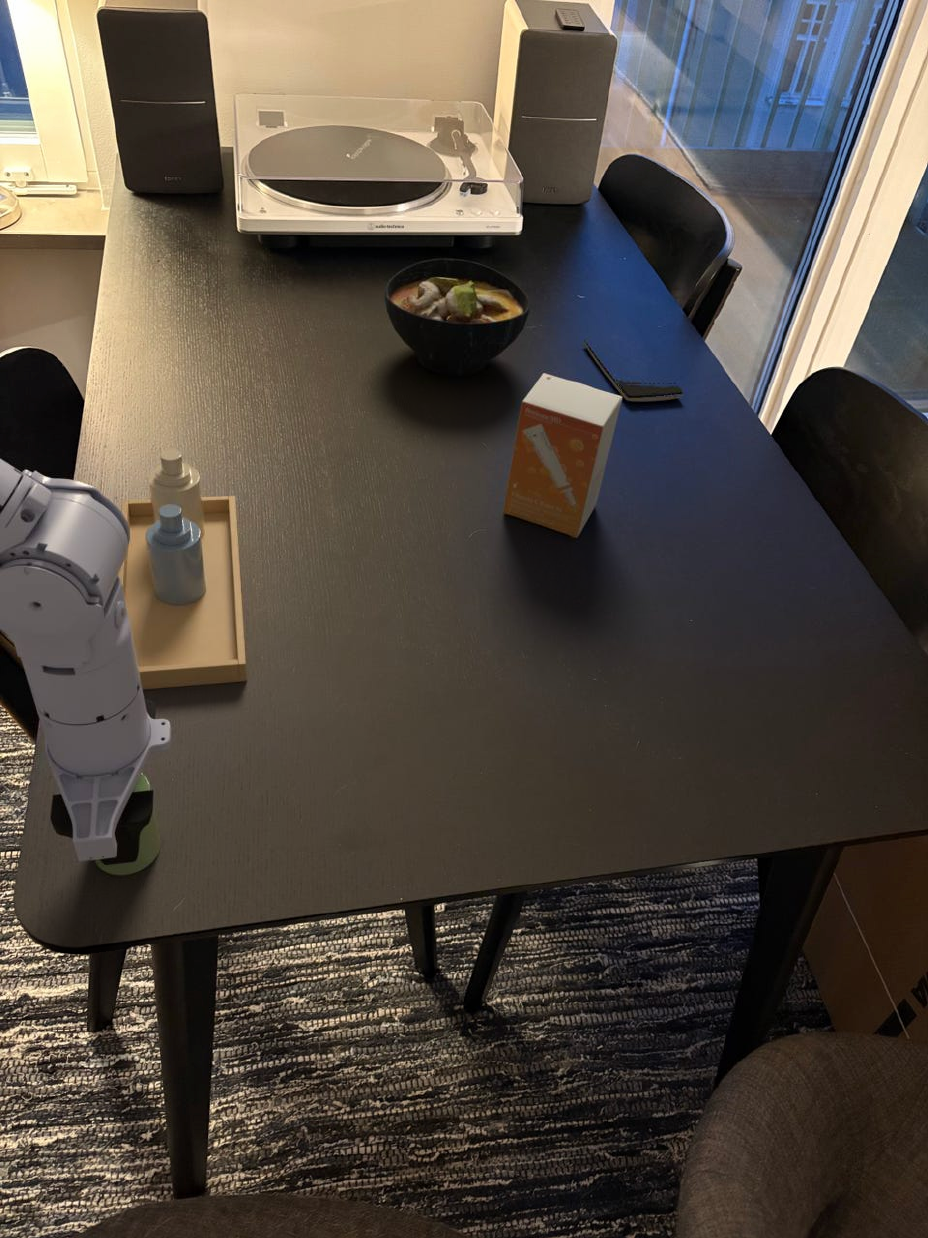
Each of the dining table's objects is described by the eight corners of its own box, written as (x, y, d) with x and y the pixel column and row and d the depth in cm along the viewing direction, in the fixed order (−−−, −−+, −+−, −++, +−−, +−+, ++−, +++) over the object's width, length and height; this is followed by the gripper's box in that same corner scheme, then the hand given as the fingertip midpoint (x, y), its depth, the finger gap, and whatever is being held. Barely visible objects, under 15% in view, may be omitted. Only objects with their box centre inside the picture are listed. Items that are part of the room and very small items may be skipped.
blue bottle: (153, 607, 82) (140, 528, 76) (154, 573, 85) (142, 495, 79) (207, 603, 83) (198, 525, 77) (206, 570, 86) (197, 493, 80)
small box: (501, 514, 97) (519, 399, 88) (523, 482, 101) (542, 370, 92) (578, 540, 95) (604, 425, 86) (597, 506, 99) (624, 394, 90)
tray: (112, 692, 75) (108, 674, 74) (124, 517, 91) (121, 500, 89) (247, 681, 77) (245, 663, 76) (236, 512, 93) (235, 495, 91)
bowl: (509, 328, 126) (519, 253, 119) (531, 397, 114) (544, 318, 107) (378, 323, 124) (381, 246, 117) (386, 393, 111) (390, 312, 105)
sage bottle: (90, 879, 63) (67, 803, 58) (94, 823, 66) (73, 745, 61) (160, 871, 64) (144, 795, 59) (161, 816, 67) (146, 739, 62)
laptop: (635, 333, 126) (685, 392, 116) (633, 341, 127) (682, 401, 117) (583, 335, 124) (629, 396, 114) (581, 344, 125) (626, 405, 115)
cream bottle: (155, 547, 87) (143, 469, 81) (156, 517, 90) (144, 440, 85) (205, 544, 88) (197, 468, 82) (204, 515, 91) (196, 439, 86)
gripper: (159, 782, 50) (185, 917, 60) (163, 596, 60) (184, 736, 70) (13, 797, 49) (63, 933, 58) (42, 603, 59) (80, 745, 68)
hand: (122, 827), depth 64 cm, fingers closed on sage bottle, 4 cm apart
